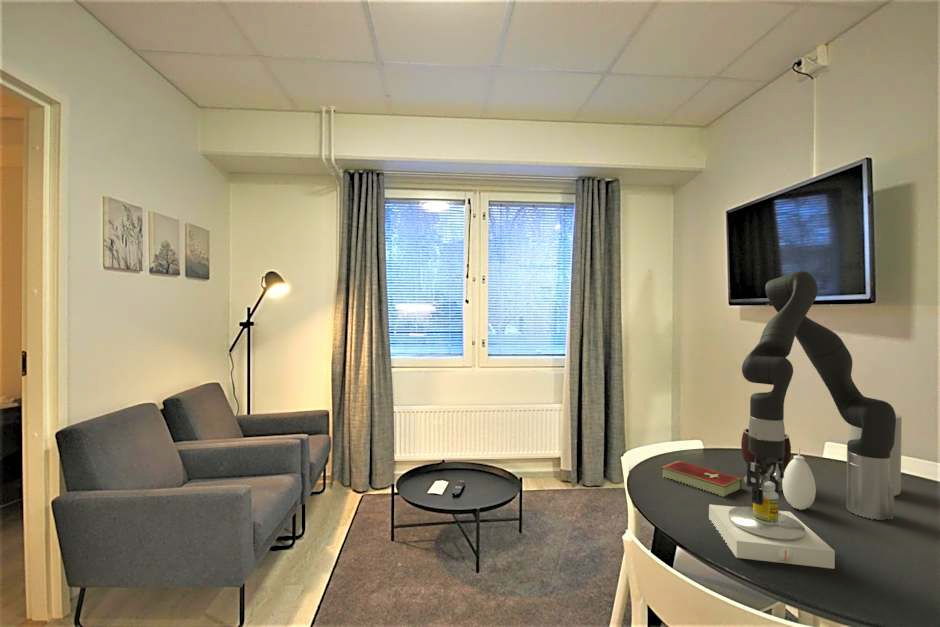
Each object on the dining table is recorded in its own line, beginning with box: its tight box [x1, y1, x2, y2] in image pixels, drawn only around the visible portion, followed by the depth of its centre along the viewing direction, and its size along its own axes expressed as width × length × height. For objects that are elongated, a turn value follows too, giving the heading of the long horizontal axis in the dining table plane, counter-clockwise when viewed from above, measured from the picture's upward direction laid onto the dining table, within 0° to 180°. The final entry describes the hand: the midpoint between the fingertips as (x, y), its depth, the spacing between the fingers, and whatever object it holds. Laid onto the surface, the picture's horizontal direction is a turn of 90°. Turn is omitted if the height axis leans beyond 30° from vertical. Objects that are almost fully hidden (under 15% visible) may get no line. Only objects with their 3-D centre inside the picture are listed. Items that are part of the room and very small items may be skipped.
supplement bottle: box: [752, 481, 779, 525], centre depth 111 cm, size 5×5×10 cm
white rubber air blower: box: [781, 447, 817, 511], centre depth 130 cm, size 8×8×18 cm
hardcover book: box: [661, 460, 743, 498], centre depth 149 cm, size 12×21×4 cm, turn 36°
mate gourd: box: [740, 427, 792, 492], centre depth 150 cm, size 16×14×20 cm
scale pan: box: [729, 506, 805, 540], centre depth 111 cm, size 16×16×1 cm
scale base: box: [708, 503, 836, 570], centre depth 111 cm, size 20×20×4 cm
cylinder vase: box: [848, 413, 903, 496], centre depth 145 cm, size 12×12×25 cm
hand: (765, 499), depth 111 cm, fingers open, 8 cm apart
